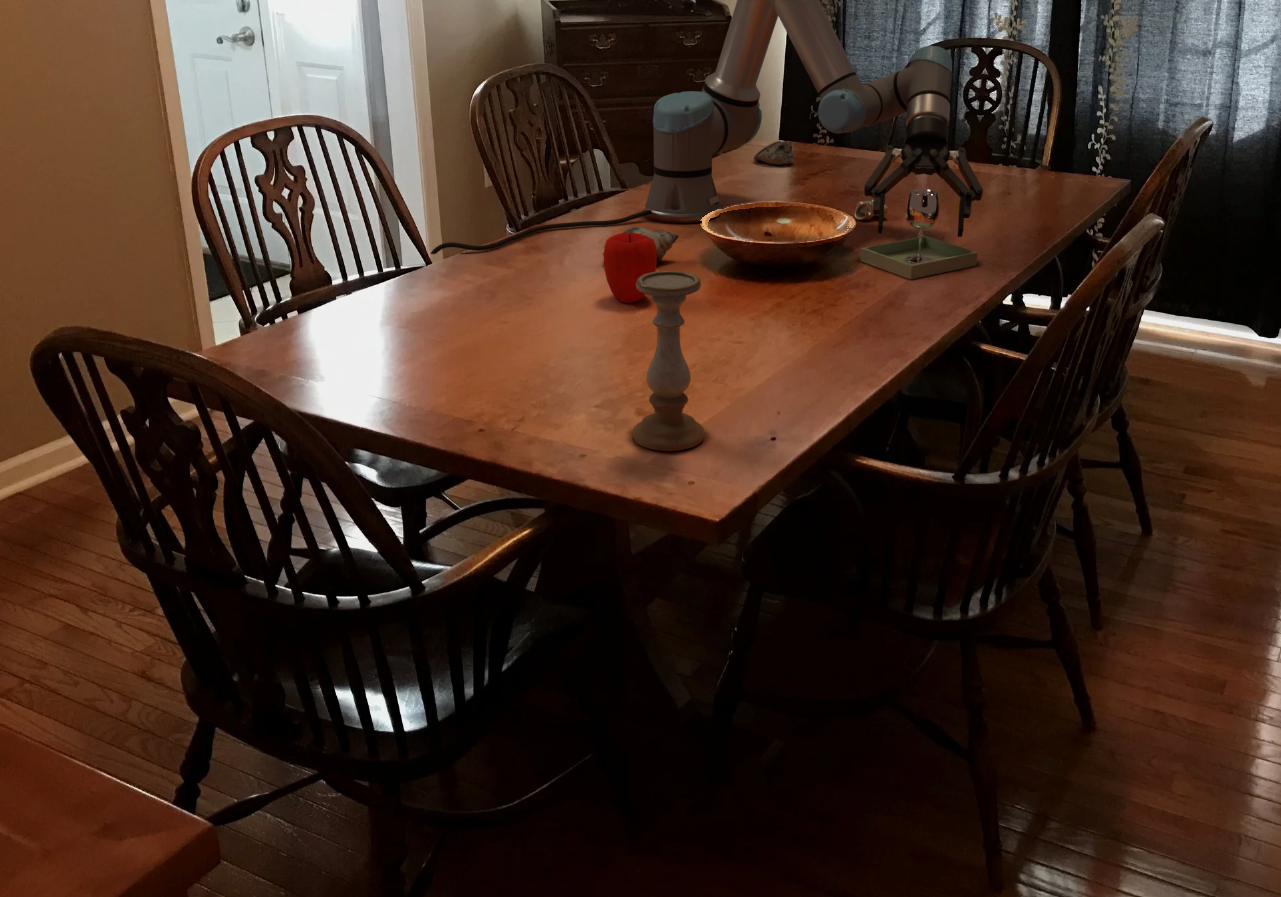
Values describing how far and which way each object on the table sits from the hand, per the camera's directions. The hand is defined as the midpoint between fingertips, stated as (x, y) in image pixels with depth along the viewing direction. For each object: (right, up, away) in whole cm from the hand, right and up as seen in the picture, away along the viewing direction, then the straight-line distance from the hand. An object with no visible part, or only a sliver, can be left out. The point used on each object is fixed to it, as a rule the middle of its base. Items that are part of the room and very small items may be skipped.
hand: (920, 231), depth 219 cm
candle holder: (-45, -36, -62) cm, 85 cm away
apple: (-50, -13, -12) cm, 53 cm away
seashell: (-48, -5, +7) cm, 49 cm away
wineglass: (+1, -5, +4) cm, 6 cm away
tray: (+1, -5, +4) cm, 7 cm away
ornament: (-2, +8, +34) cm, 35 cm away
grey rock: (-16, +30, +81) cm, 88 cm away
